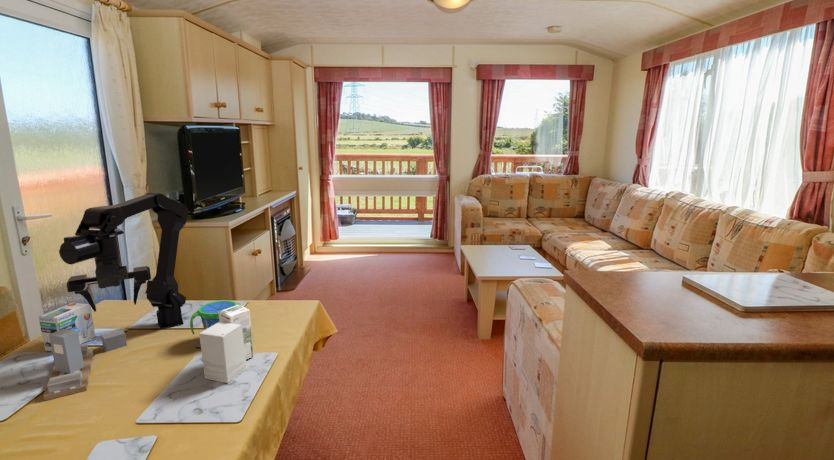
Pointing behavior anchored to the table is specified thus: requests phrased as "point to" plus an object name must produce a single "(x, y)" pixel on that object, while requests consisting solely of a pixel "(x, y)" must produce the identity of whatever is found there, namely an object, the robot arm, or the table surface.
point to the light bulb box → (68, 322)
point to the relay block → (113, 340)
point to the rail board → (84, 375)
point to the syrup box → (242, 318)
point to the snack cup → (211, 313)
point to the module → (66, 351)
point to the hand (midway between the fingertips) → (115, 307)
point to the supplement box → (223, 351)
